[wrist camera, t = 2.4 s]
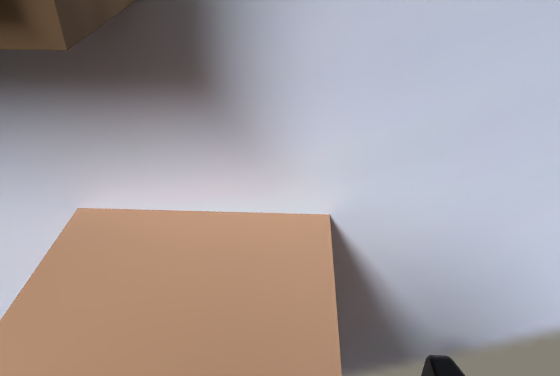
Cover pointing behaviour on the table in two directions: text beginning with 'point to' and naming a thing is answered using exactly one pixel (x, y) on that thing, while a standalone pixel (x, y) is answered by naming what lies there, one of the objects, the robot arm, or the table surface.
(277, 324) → the terracotta block
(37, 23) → the wooden framed mirror
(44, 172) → the table surface
